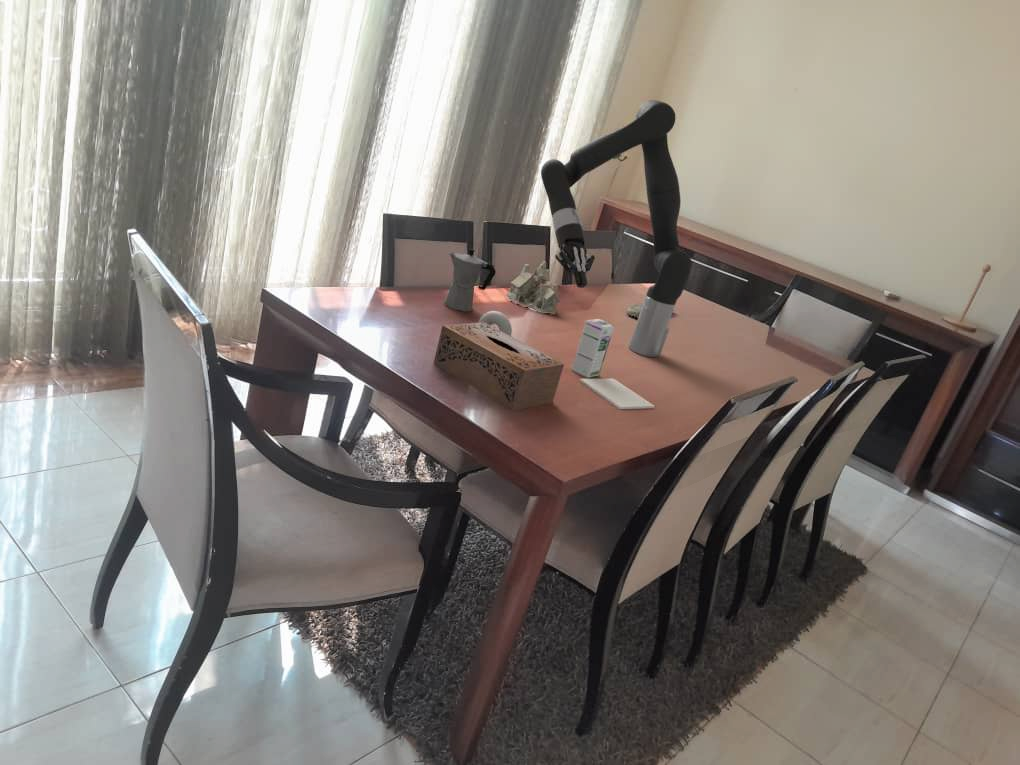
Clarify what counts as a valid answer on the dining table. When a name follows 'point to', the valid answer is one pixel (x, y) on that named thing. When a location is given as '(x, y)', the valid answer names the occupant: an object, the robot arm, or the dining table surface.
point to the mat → (617, 393)
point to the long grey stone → (635, 310)
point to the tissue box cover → (498, 365)
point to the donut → (497, 321)
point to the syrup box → (592, 347)
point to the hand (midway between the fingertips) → (582, 286)
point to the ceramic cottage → (535, 289)
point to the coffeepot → (466, 280)
